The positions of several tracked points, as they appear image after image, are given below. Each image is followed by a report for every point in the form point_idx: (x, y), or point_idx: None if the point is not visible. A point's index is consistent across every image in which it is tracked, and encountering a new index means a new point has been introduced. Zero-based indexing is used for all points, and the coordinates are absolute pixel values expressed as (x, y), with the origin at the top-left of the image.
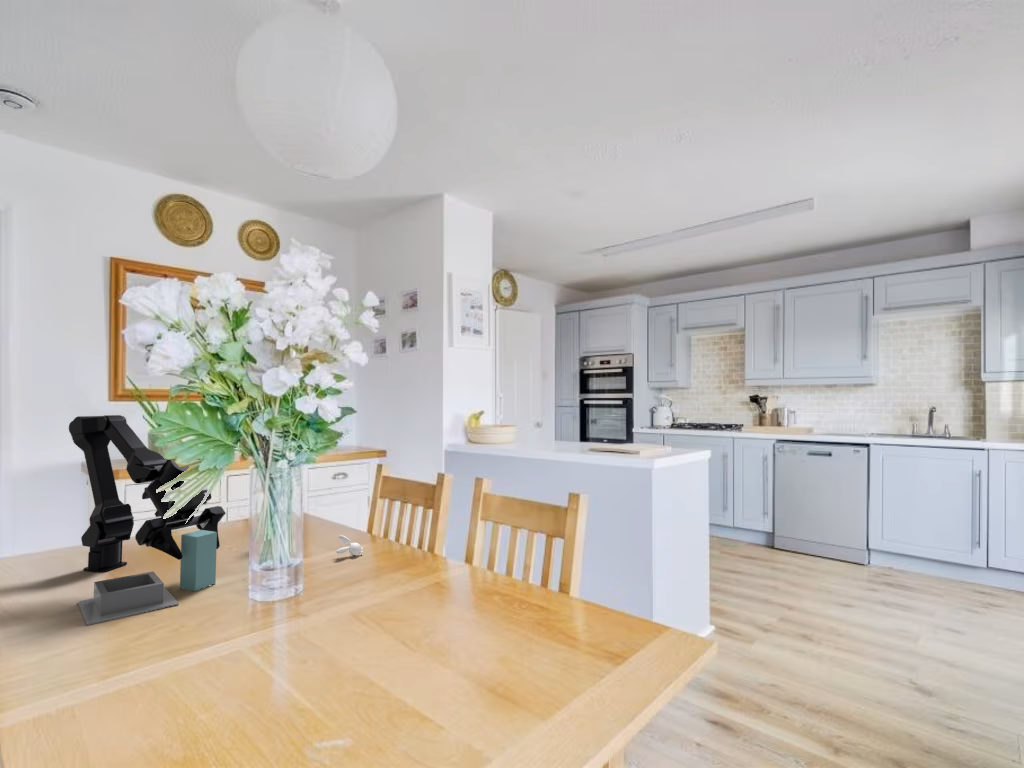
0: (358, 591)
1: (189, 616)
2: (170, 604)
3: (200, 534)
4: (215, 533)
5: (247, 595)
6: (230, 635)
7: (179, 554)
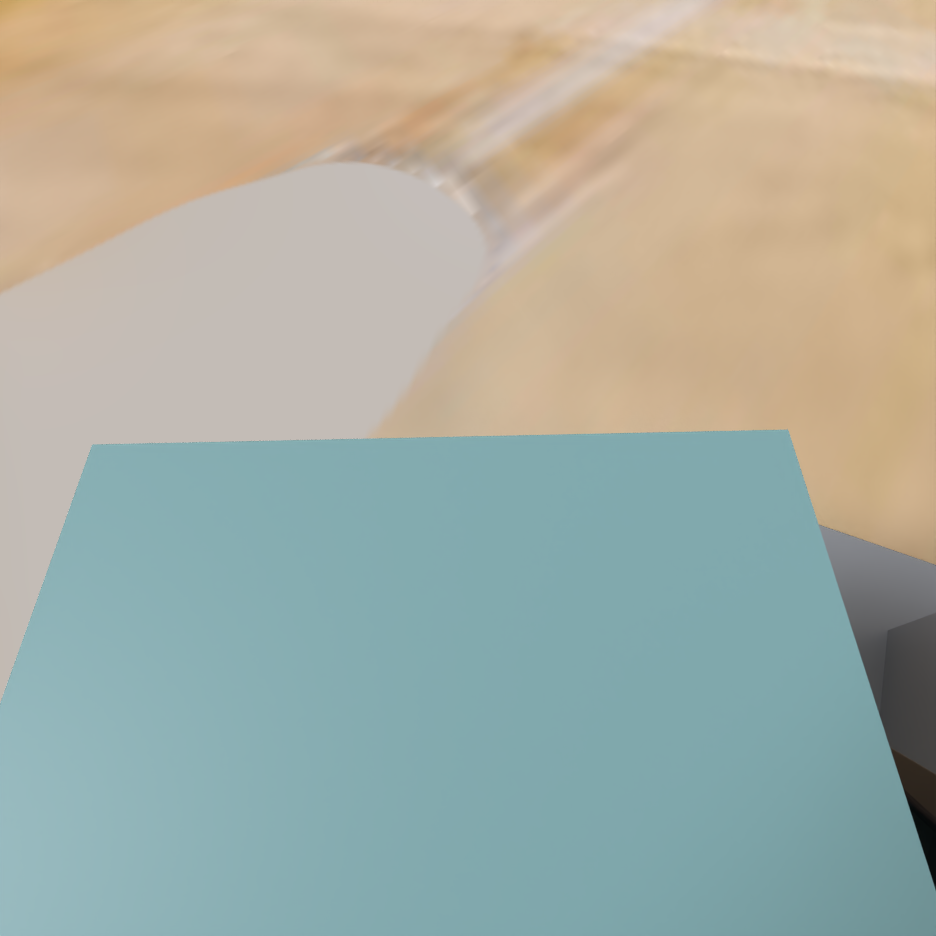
0: (238, 35)
1: (828, 328)
2: (859, 546)
3: (523, 637)
4: (153, 465)
5: (458, 317)
6: (796, 88)
7: (927, 770)
